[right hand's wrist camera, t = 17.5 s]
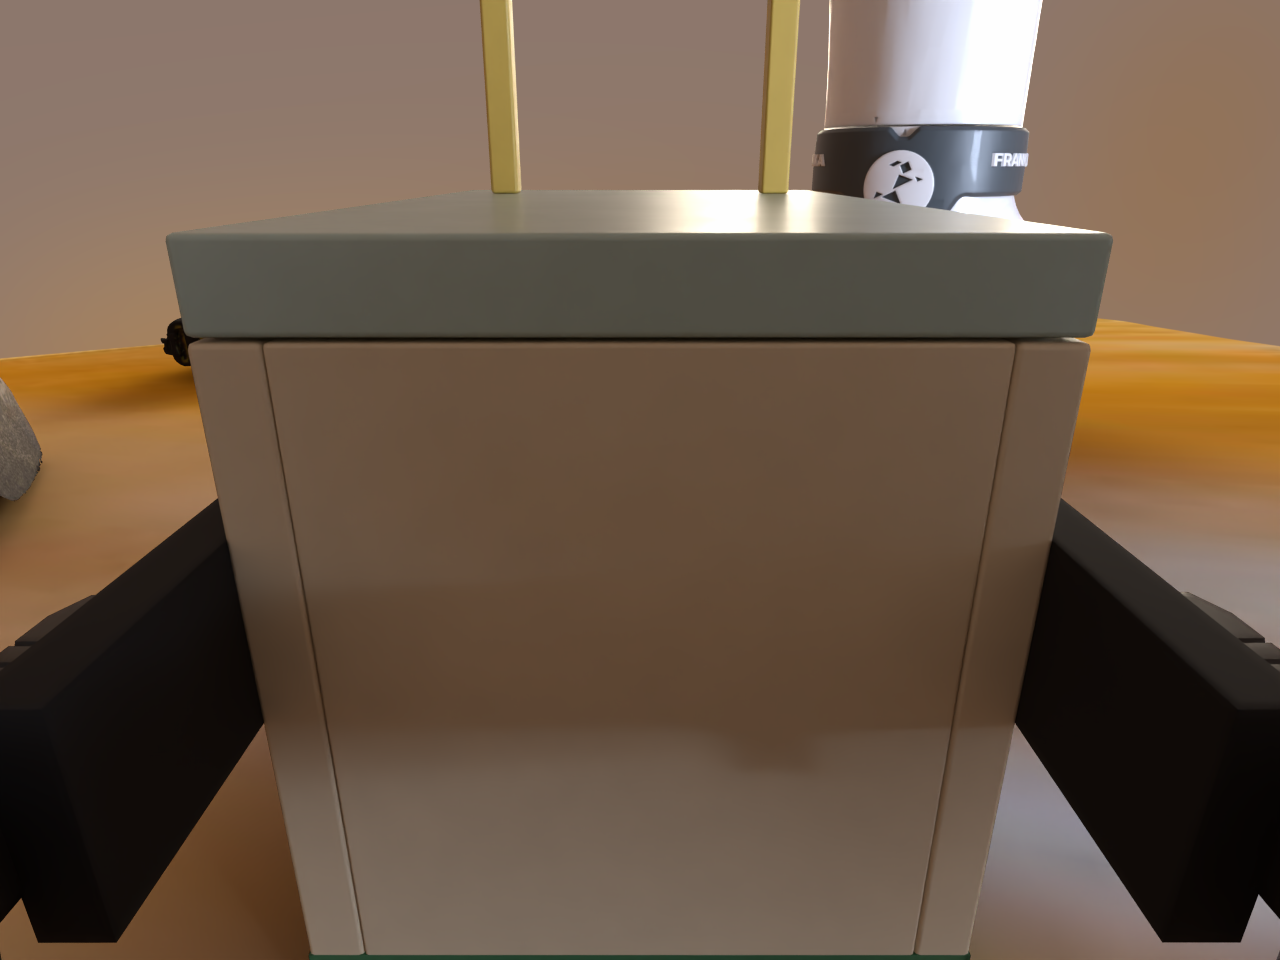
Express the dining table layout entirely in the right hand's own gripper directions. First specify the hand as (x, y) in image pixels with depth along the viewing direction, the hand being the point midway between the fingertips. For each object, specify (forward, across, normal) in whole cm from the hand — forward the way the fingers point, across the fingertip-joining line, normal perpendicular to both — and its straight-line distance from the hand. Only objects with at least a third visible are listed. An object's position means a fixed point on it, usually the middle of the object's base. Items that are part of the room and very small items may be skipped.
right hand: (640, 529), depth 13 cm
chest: (+5, 0, +7) cm, 8 cm away
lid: (+5, 0, -4) cm, 6 cm away
